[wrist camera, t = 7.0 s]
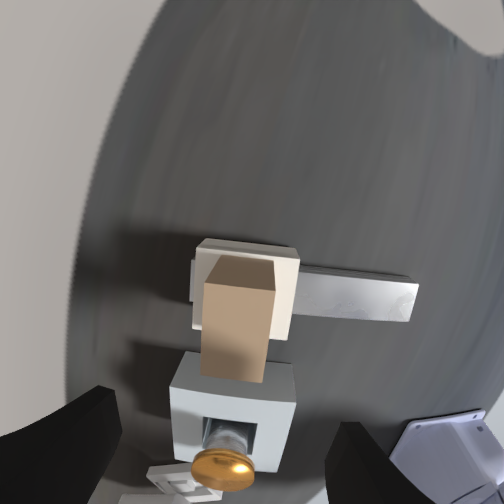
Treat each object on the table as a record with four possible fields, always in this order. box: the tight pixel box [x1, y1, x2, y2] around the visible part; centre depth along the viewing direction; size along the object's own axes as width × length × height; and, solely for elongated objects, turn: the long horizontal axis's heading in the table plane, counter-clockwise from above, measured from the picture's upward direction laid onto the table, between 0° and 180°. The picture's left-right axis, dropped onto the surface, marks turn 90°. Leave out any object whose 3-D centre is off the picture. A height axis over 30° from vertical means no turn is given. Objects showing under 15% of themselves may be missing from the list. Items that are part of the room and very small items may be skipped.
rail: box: [190, 255, 419, 322], centre depth 17 cm, size 13×2×2 cm, turn 84°
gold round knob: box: [191, 418, 255, 491], centre depth 15 cm, size 3×3×4 cm
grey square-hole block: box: [169, 351, 296, 472], centre depth 18 cm, size 7×7×4 cm
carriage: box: [192, 238, 300, 383], centre depth 14 cm, size 5×4×7 cm
